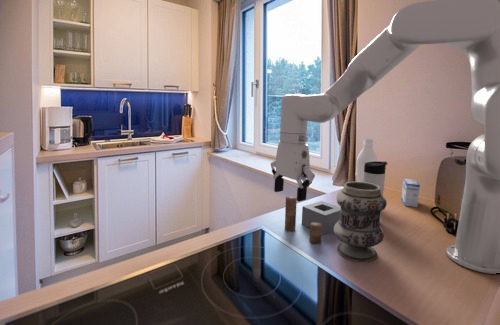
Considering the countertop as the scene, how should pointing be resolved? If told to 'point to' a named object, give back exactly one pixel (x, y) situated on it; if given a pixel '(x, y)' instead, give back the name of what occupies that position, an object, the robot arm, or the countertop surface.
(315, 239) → the short pin
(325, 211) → the socket block
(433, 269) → the countertop surface
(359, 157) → the water bottle
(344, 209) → the apothecary jar
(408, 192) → the medicine box
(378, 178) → the travel mug
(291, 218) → the long pin
